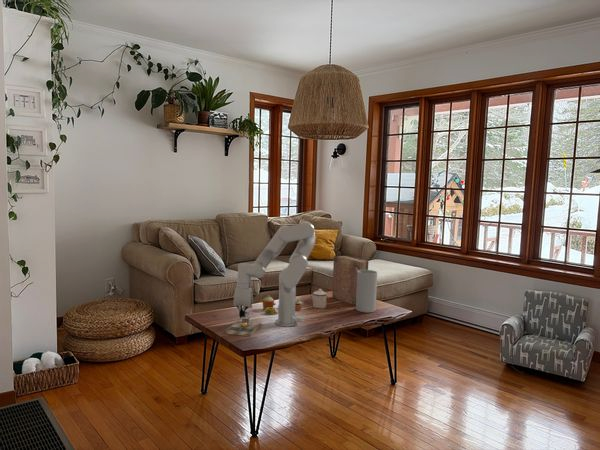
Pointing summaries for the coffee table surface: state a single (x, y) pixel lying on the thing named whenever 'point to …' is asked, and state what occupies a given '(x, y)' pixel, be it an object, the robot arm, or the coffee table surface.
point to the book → (346, 277)
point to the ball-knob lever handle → (245, 320)
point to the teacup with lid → (319, 299)
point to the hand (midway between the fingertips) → (242, 317)
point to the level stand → (243, 329)
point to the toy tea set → (269, 303)
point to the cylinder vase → (366, 291)
